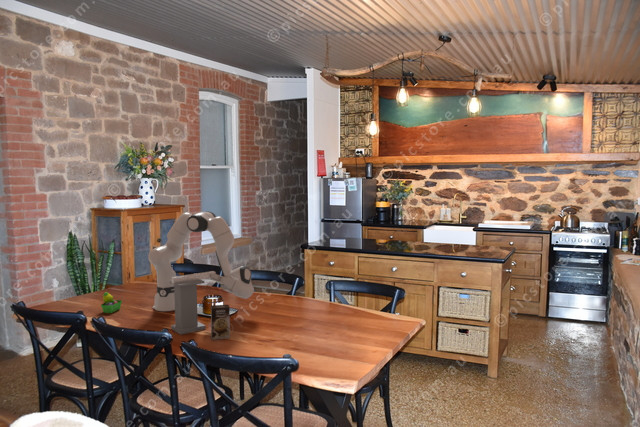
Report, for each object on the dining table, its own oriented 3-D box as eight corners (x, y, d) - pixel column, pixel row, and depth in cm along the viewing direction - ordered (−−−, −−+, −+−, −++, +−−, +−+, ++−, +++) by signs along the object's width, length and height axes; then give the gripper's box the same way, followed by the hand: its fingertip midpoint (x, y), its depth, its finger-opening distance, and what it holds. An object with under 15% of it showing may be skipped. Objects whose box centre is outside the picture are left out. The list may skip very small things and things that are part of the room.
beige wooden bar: (213, 276, 275) (213, 271, 275) (215, 277, 273) (215, 272, 272) (171, 282, 260) (171, 277, 260) (173, 283, 257) (173, 278, 257)
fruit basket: (111, 313, 294) (111, 295, 293) (98, 313, 296) (97, 294, 295) (123, 308, 305) (122, 290, 304) (110, 307, 307) (109, 289, 306)
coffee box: (211, 340, 249) (211, 308, 247) (211, 336, 255) (210, 305, 254) (230, 338, 251) (229, 307, 250) (229, 334, 257) (228, 303, 256)
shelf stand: (195, 323, 275) (194, 277, 273) (205, 329, 266) (204, 281, 264) (171, 328, 266) (169, 281, 264) (180, 334, 257) (179, 285, 255)
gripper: (222, 275, 289) (203, 266, 280) (240, 281, 273) (220, 271, 265) (217, 285, 287) (198, 276, 279) (235, 292, 271) (215, 282, 263)
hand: (209, 274), depth 272 cm, fingers closed on beige wooden bar, 3 cm apart
